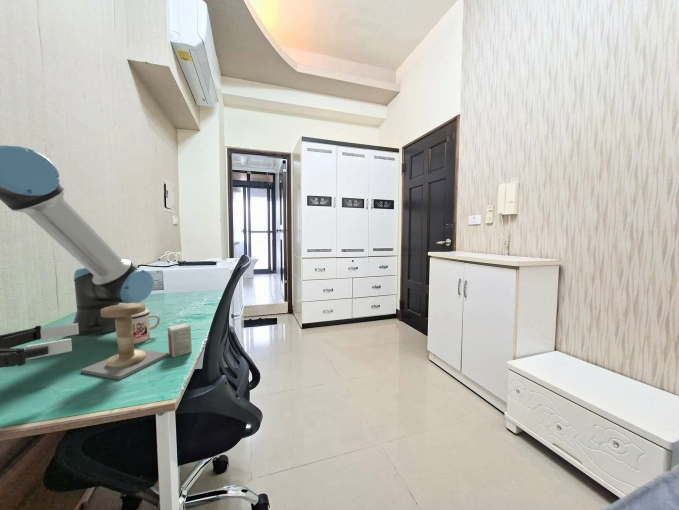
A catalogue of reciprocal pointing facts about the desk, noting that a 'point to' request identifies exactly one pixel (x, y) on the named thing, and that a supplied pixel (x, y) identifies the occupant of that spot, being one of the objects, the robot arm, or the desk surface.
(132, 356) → the stool
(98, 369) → the mat
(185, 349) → the small box
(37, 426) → the desk surface
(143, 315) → the teacup with lid
